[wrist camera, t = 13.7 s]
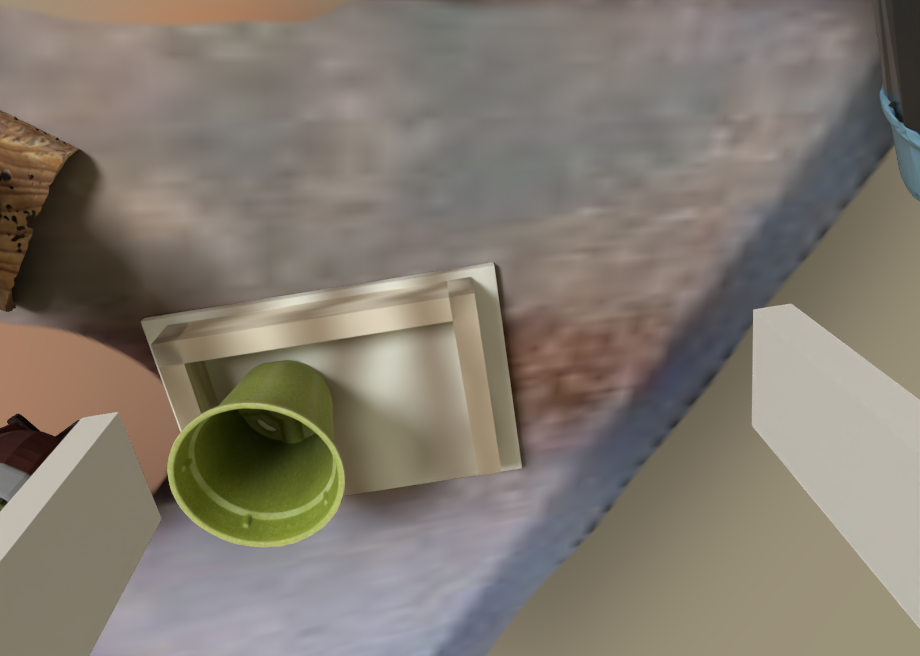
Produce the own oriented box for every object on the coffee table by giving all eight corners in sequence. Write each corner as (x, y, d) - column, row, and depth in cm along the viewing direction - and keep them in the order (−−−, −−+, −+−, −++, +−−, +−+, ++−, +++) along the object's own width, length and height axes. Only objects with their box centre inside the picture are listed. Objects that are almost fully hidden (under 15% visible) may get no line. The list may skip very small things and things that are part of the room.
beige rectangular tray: (493, 262, 43) (499, 281, 40) (520, 463, 49) (527, 493, 46) (144, 318, 44) (122, 341, 40) (213, 511, 50) (199, 544, 46)
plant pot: (310, 483, 48) (288, 573, 40) (185, 417, 46) (136, 499, 38) (385, 384, 46) (378, 459, 38) (257, 307, 43) (220, 371, 35)
